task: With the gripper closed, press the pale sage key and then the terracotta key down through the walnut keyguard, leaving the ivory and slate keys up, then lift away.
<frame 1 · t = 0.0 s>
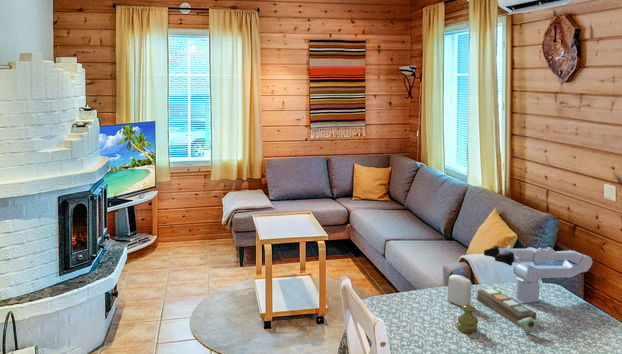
hand: (489, 255, 244), 22 cm above the table, tool horizontal, fingers open, 7 cm apart
white rounded slab: (458, 304, 248), on the table
slate key: (521, 311, 231), point 4 cm above the table, slide at 0.0 cm
keyboard: (504, 311, 241), on the table
terracotta key: (500, 298, 243), point 4 cm above the table, slide at 0.0 cm
sage key: (510, 304, 237), point 4 cm above the table, slide at 0.0 cm
ivory key: (491, 293, 249), point 4 cm above the table, slide at 0.0 cm
olive green vase: (467, 330, 223), on the table
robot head: (527, 334, 220), on the table
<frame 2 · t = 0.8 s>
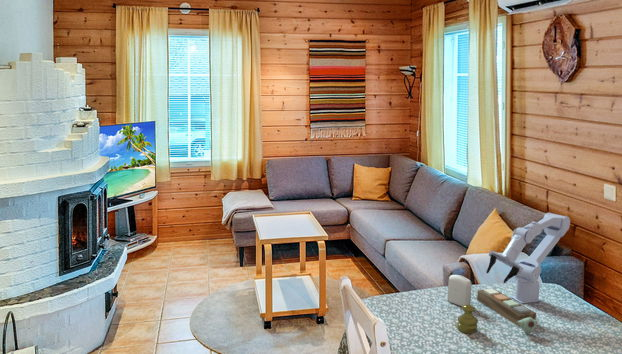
hand: (495, 277, 239), 15 cm above the table, tool tilted 50°, fingers open, 7 cm apart
nothing on the table moved.
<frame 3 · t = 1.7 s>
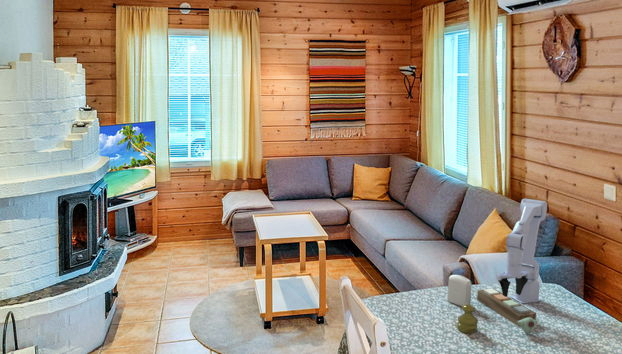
hand: (511, 295, 236), 8 cm above the table, tool pointing down, fingers open, 6 cm apart
nothing on the table moved.
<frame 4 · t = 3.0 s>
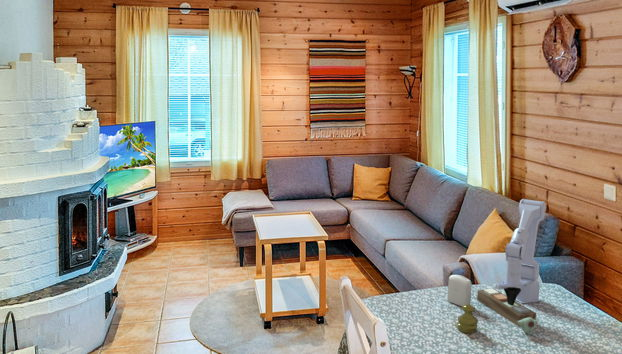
hand: (510, 304, 237), 4 cm above the table, tool pointing down, fingers closed, pressing on sage key
sage key: (510, 306, 237), point 3 cm above the table, slide at 0.7 cm, touching gripper
everything else where it was.
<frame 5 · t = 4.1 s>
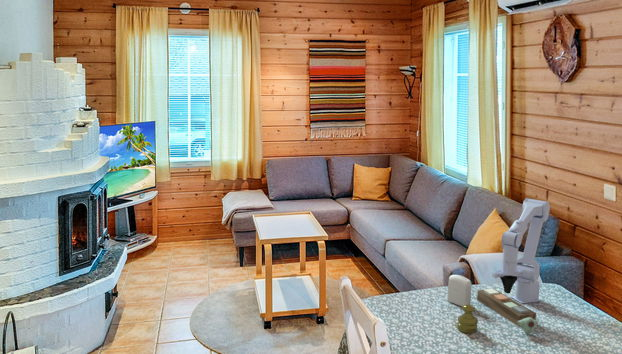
hand: (507, 292, 239), 8 cm above the table, tool pointing down, fingers closed
sage key: (510, 306, 237), point 3 cm above the table, slide at 0.9 cm
everything else where it was.
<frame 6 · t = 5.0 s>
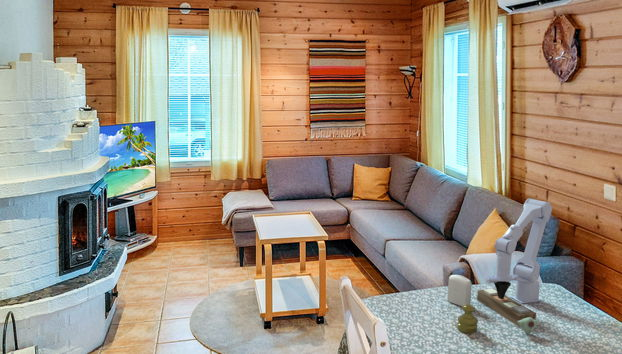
hand: (500, 298, 243), 5 cm above the table, tool pointing down, fingers closed, pressing on terracotta key
terracotta key: (500, 300, 243), point 4 cm above the table, slide at 0.6 cm, touching gripper
everything else where it was.
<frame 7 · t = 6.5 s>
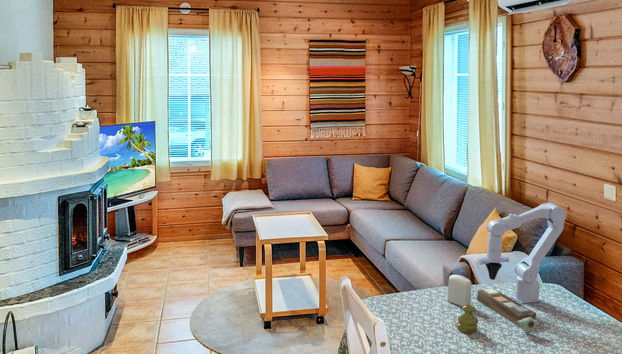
hand: (492, 279, 251), 9 cm above the table, tool pointing down, fingers closed
terracotta key: (500, 300, 243), point 3 cm above the table, slide at 0.9 cm
everything else where it was.
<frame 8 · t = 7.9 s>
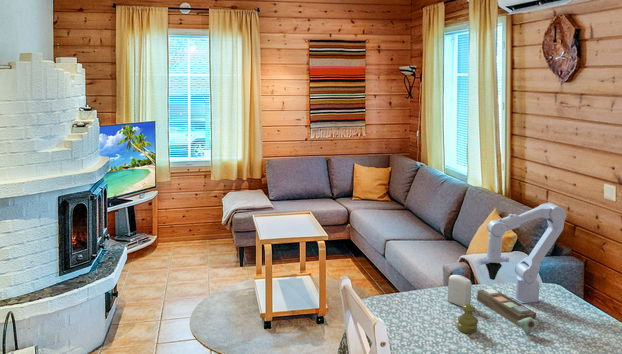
hand: (492, 279, 251), 9 cm above the table, tool pointing down, fingers closed
nothing on the table moved.
at the end: sage key slide at 0.9 cm; terracotta key slide at 0.9 cm; ivory key slide at 0.0 cm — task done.
